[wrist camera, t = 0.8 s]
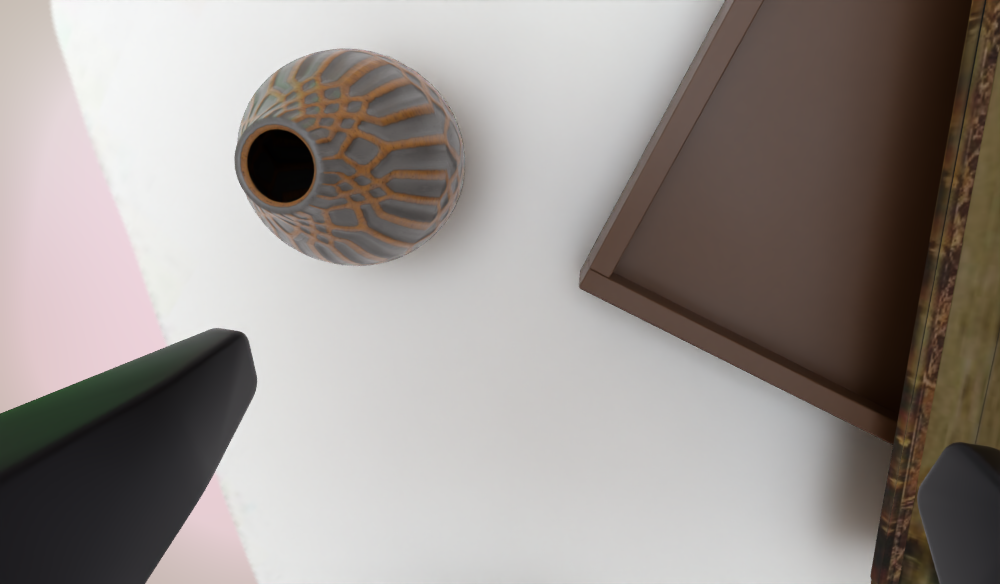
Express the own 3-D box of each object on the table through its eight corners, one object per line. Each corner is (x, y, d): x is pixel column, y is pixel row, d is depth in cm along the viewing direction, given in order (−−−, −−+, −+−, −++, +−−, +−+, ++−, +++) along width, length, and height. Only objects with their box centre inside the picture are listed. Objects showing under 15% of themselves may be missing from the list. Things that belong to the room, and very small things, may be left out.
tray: (958, 462, 22) (1007, 502, 19) (579, 272, 22) (578, 288, 20) (1347, 10, 17) (1481, -14, 14) (846, -226, 17) (890, -290, 15)
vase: (293, 205, 23) (127, 238, 15) (342, 38, 21) (182, -34, 13) (444, 271, 23) (361, 343, 14) (507, 108, 21) (454, 82, 13)
